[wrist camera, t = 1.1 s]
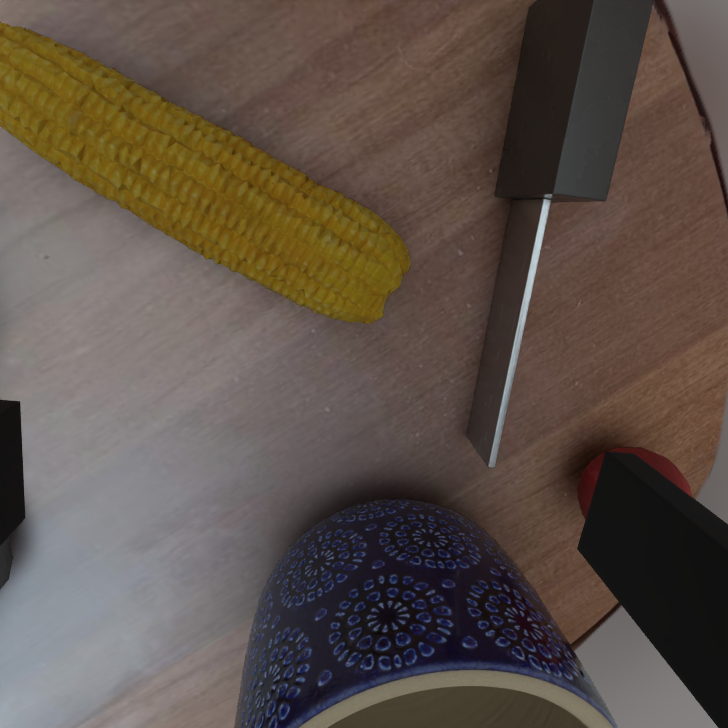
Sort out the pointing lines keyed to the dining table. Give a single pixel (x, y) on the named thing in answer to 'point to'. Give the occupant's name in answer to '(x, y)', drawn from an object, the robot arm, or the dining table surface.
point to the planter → (408, 632)
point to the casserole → (5, 562)
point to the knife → (553, 163)
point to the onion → (653, 459)
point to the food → (198, 181)
